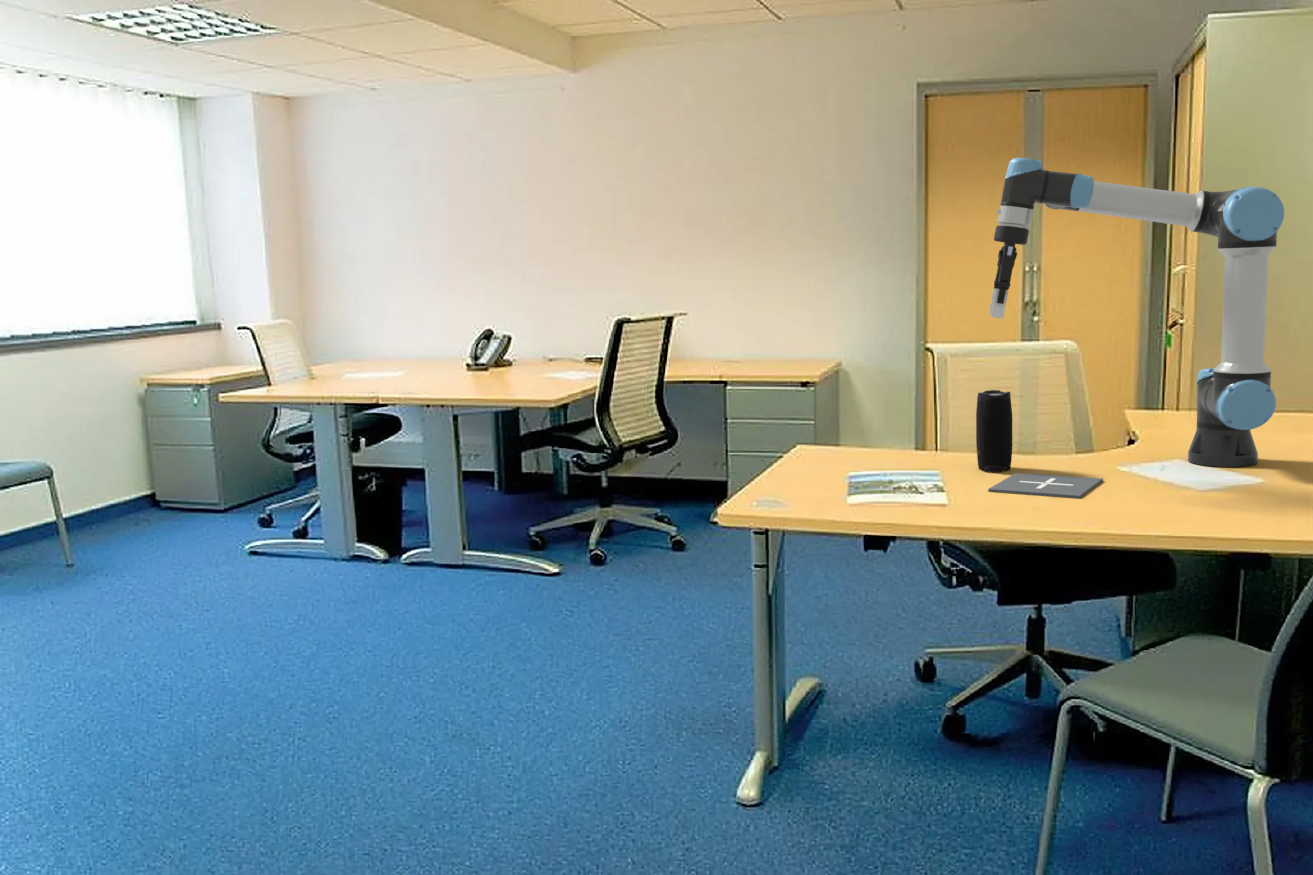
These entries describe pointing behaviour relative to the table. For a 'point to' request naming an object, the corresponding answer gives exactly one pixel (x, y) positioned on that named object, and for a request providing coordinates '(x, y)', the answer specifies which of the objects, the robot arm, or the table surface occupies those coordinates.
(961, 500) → the table surface
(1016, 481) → the pad
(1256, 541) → the table surface
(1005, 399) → the portable speaker
